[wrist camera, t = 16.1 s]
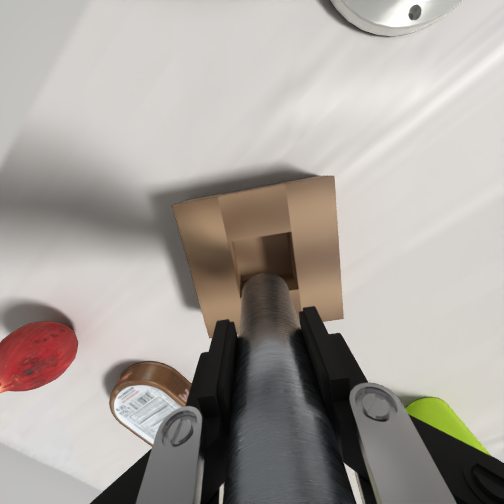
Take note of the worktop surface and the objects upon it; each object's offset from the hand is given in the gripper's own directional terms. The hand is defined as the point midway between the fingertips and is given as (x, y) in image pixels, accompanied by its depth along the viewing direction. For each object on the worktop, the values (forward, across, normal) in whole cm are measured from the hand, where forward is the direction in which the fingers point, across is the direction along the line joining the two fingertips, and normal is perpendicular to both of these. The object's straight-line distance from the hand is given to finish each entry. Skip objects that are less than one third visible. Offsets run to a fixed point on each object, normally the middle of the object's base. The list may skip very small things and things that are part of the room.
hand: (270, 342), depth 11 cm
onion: (+13, +22, +5) cm, 26 cm away
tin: (+11, +10, +16) cm, 22 cm away
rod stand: (+13, 0, 0) cm, 13 cm away
